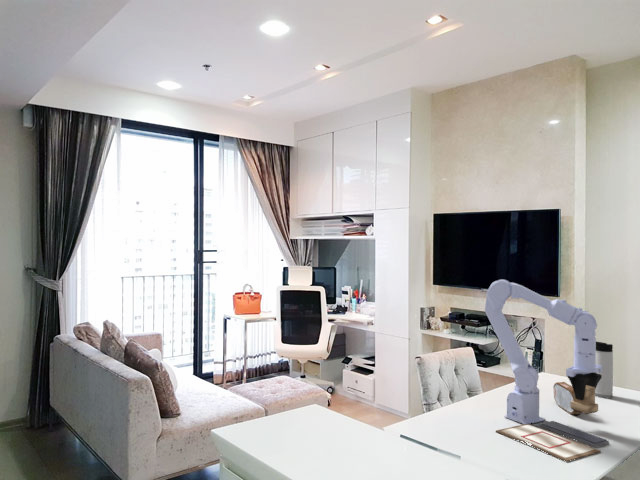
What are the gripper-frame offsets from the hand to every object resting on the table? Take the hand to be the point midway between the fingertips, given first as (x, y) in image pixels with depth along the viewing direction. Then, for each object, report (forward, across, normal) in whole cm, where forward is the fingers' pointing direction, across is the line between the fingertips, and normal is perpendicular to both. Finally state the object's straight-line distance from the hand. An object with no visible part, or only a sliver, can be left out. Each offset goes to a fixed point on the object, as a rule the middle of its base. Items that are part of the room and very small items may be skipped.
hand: (584, 398), depth 142 cm
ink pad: (+9, -8, -2) cm, 12 cm away
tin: (+9, +11, +13) cm, 19 cm away
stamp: (+4, 0, 0) cm, 4 cm away
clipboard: (+9, -20, -2) cm, 22 cm away
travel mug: (+9, +39, +18) cm, 44 cm away
